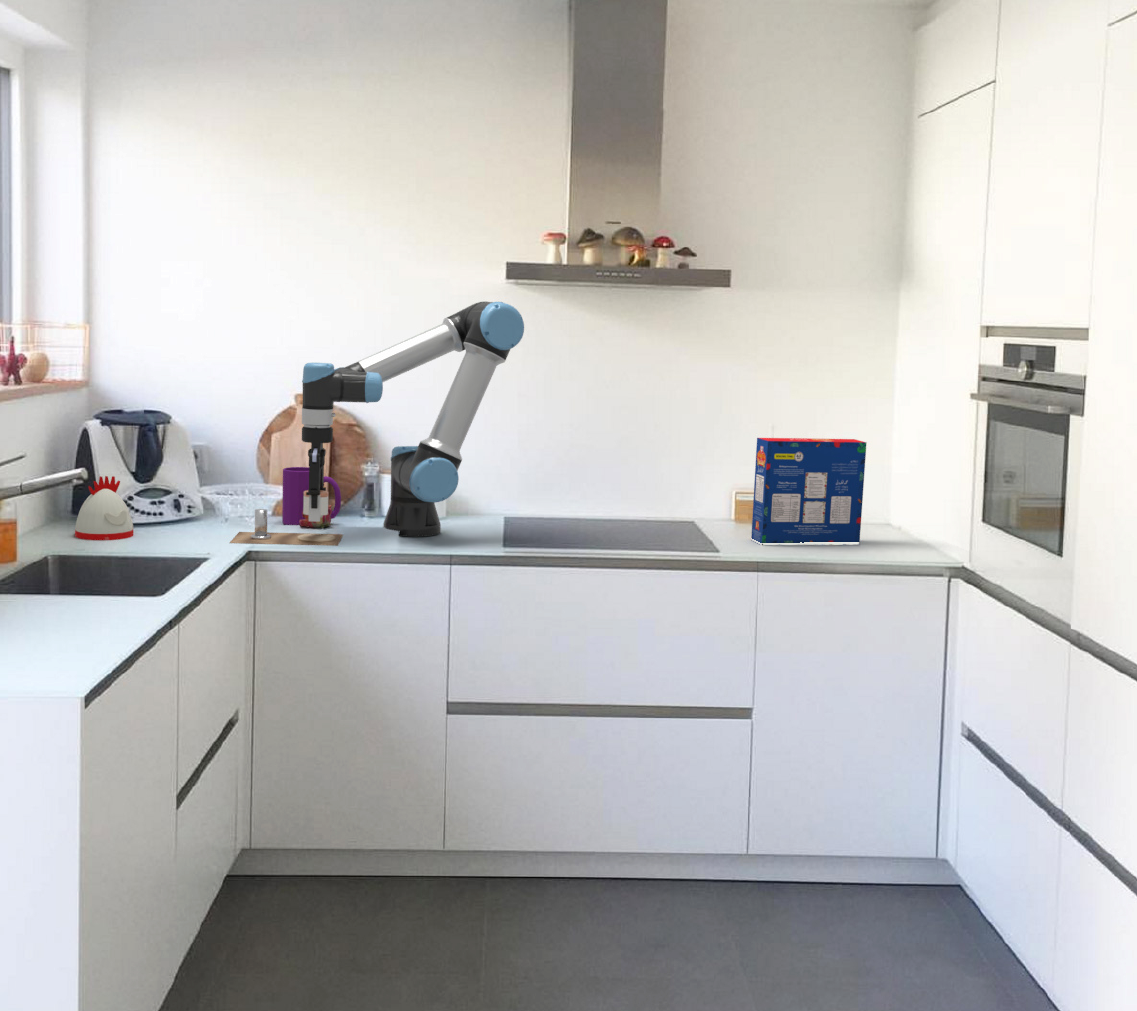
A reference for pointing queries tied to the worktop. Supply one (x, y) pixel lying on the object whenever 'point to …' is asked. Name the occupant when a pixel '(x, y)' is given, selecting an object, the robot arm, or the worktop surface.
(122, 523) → the kitchen timer
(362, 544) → the worktop surface
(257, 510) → the post
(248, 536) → the board
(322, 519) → the flower
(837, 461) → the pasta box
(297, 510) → the mug
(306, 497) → the cap
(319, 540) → the coaster
